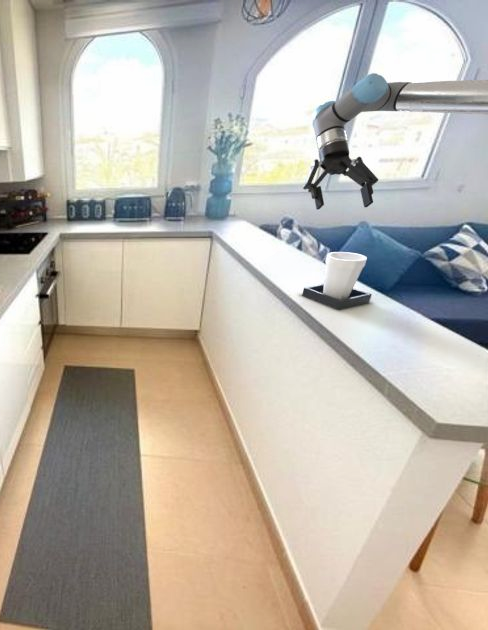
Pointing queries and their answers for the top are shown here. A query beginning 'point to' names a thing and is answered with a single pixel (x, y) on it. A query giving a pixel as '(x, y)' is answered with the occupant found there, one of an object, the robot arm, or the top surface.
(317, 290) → the dark grey square tray
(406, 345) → the top surface
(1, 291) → the top surface
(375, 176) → the robot arm
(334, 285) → the foam cup
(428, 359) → the top surface
